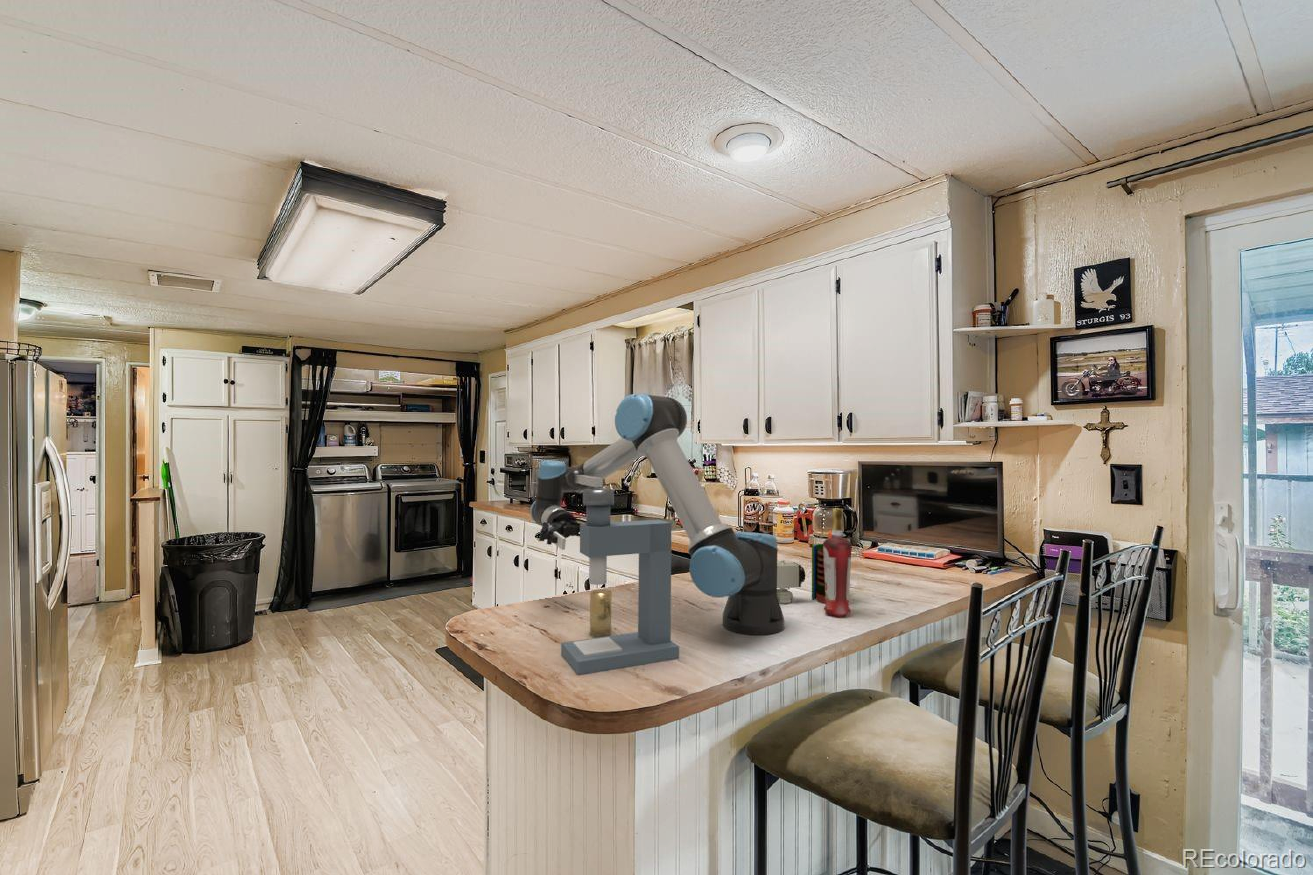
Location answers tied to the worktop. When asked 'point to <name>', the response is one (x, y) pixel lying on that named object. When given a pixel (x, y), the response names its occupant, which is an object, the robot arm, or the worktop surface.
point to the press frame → (652, 597)
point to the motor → (818, 572)
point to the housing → (600, 613)
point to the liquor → (837, 569)
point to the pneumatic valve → (788, 579)
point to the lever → (591, 495)
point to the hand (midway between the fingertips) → (589, 543)
